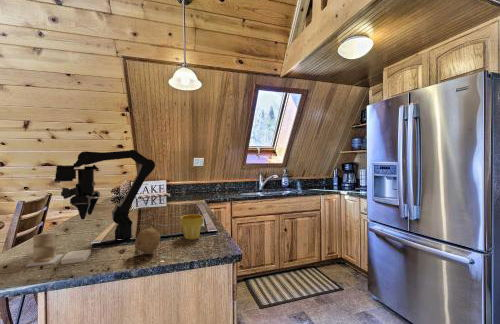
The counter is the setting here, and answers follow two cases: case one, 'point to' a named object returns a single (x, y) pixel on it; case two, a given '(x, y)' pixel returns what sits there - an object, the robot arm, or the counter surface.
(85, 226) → the counter surface
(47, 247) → the tan upright block
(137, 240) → the natural sponge
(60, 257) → the rest mat
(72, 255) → the tile
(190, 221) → the plant pot
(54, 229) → the counter surface
